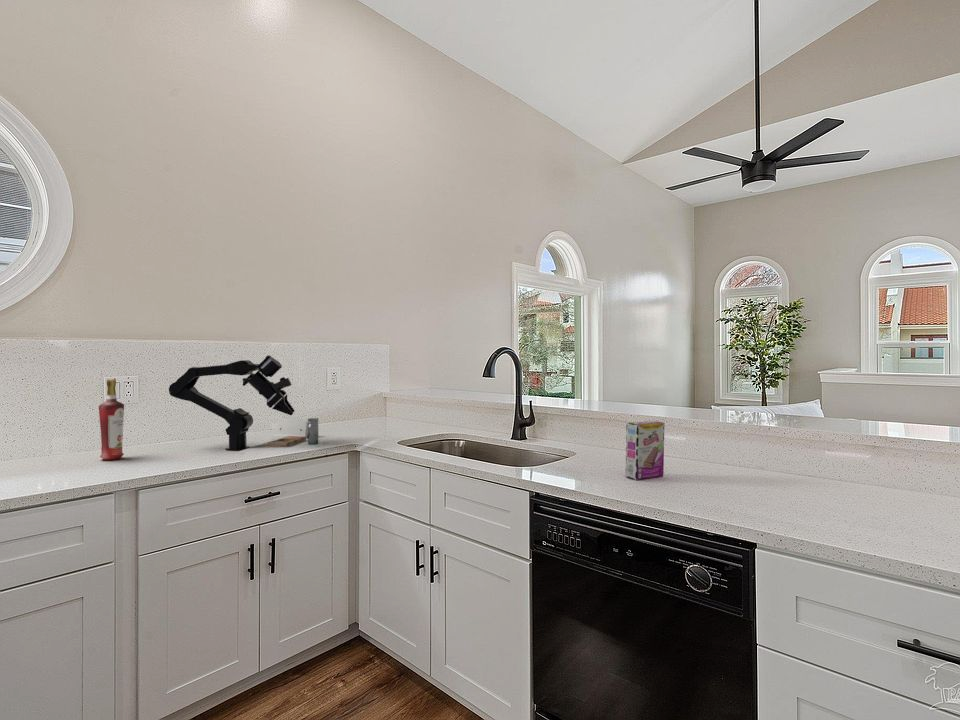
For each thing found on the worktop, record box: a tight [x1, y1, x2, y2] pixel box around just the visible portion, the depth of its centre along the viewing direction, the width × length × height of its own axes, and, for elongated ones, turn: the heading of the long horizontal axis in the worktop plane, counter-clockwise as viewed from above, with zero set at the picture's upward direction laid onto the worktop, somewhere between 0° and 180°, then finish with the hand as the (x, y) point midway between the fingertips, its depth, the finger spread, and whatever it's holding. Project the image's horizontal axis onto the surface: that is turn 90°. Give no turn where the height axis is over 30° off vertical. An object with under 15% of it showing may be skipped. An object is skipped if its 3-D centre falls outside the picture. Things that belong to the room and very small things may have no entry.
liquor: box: [98, 378, 125, 461], centre depth 184 cm, size 7×7×28 cm
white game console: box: [271, 418, 308, 440], centre depth 226 cm, size 17×5×10 cm, turn 71°
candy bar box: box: [625, 420, 665, 481], centre depth 156 cm, size 11×5×16 cm, turn 118°
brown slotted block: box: [266, 436, 307, 448], centre depth 210 cm, size 16×8×3 cm, turn 171°
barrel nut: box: [307, 417, 319, 445], centre depth 209 cm, size 4×4×10 cm
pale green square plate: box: [298, 441, 328, 447], centre depth 209 cm, size 8×8×1 cm
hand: (293, 413), depth 207 cm, fingers open, 9 cm apart
